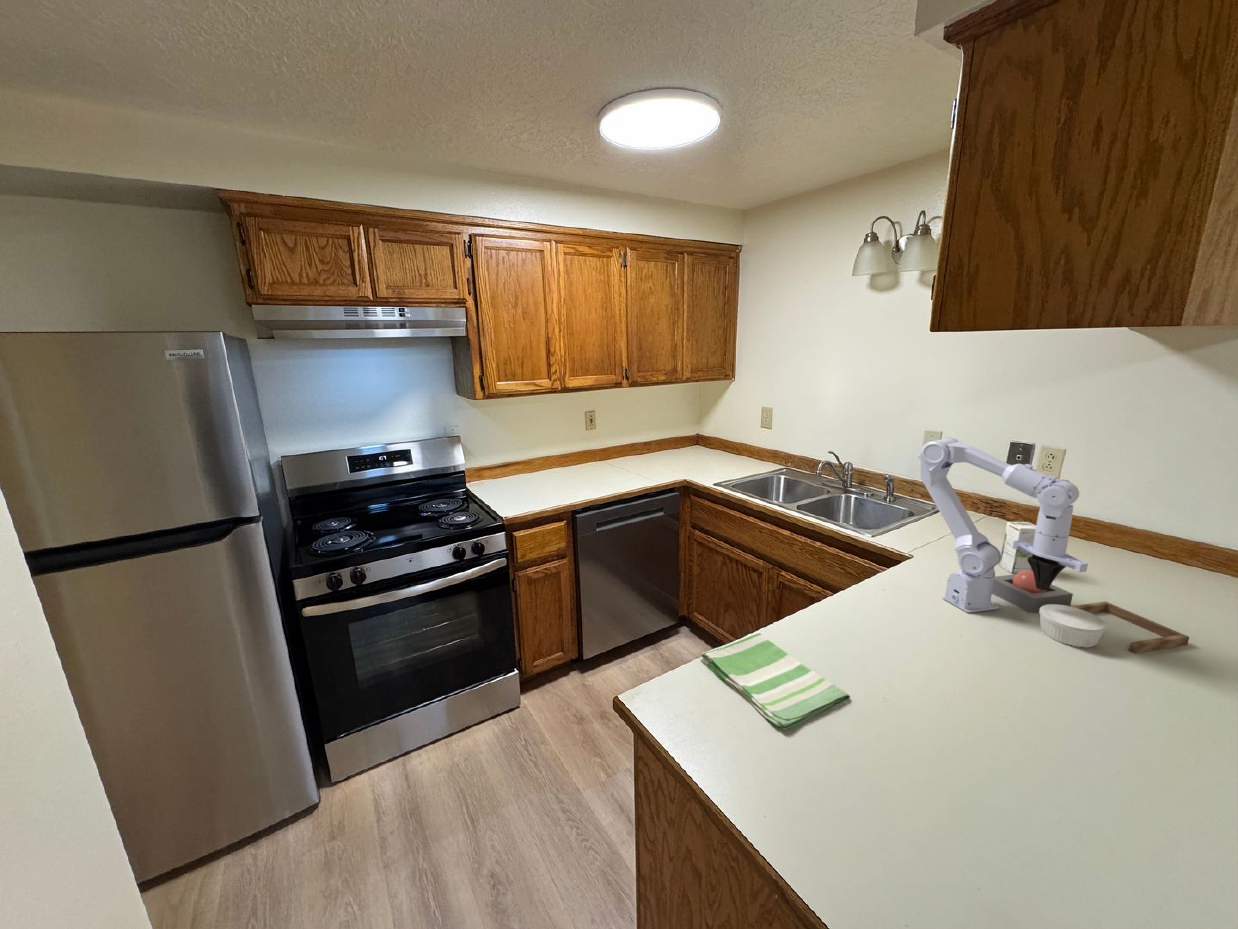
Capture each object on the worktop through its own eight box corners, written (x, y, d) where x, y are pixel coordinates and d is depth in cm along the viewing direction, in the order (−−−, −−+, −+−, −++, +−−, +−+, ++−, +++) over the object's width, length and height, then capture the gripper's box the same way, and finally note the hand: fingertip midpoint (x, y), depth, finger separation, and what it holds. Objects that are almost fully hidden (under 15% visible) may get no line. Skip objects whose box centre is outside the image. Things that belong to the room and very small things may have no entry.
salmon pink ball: (1029, 604, 123) (1034, 579, 122) (1003, 591, 130) (1007, 567, 128) (1052, 601, 125) (1057, 576, 123) (1025, 589, 131) (1029, 565, 130)
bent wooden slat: (1134, 653, 104) (1136, 645, 104) (1055, 615, 120) (1057, 607, 119) (1187, 645, 107) (1189, 636, 107) (1103, 608, 122) (1105, 601, 122)
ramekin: (1043, 643, 108) (1047, 621, 107) (1030, 619, 118) (1033, 599, 117) (1110, 657, 103) (1116, 634, 102) (1091, 631, 113) (1095, 610, 112)
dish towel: (782, 737, 83) (783, 723, 82) (697, 663, 103) (697, 651, 102) (850, 701, 91) (851, 688, 91) (759, 639, 111) (760, 628, 111)
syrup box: (1018, 566, 147) (1027, 521, 144) (1032, 575, 141) (1042, 528, 138) (998, 565, 148) (1006, 520, 144) (1011, 574, 142) (1020, 527, 139)
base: (1031, 613, 121) (1033, 598, 120) (986, 590, 132) (989, 577, 131) (1069, 608, 123) (1072, 593, 122) (1023, 586, 134) (1025, 573, 133)
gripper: (1102, 542, 104) (1091, 600, 107) (1032, 521, 118) (1024, 573, 121) (1077, 546, 103) (1066, 604, 105) (1009, 524, 116) (1001, 577, 119)
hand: (1042, 588), depth 113 cm, fingers closed
